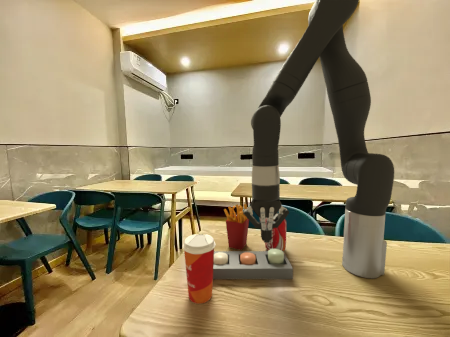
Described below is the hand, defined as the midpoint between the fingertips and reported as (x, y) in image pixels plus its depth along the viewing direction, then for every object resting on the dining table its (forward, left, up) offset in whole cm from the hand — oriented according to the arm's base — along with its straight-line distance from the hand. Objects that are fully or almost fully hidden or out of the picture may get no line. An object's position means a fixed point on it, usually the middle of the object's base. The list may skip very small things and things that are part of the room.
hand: (266, 241), depth 58 cm
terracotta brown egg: (+5, 0, -7) cm, 9 cm away
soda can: (-5, -11, -9) cm, 15 cm away
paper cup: (+18, +10, -9) cm, 22 cm away
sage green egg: (-3, 0, -6) cm, 7 cm away
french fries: (+8, -15, -9) cm, 19 cm away
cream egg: (+13, 0, -7) cm, 15 cm away
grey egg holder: (+5, 0, -8) cm, 10 cm away
